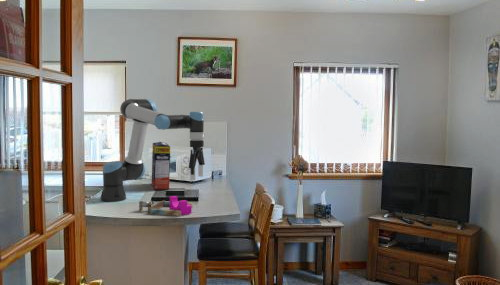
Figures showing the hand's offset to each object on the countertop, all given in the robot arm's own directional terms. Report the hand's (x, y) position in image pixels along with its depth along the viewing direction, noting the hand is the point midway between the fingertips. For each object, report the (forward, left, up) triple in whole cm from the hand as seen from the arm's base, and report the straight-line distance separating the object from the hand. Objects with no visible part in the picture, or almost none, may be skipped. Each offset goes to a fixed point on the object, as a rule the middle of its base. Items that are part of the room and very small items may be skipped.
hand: (196, 178), depth 230 cm
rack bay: (-15, 0, -19) cm, 24 cm away
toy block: (-9, -1, -19) cm, 21 cm away
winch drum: (-29, -4, -19) cm, 35 cm away
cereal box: (-49, +63, -19) cm, 82 cm away
